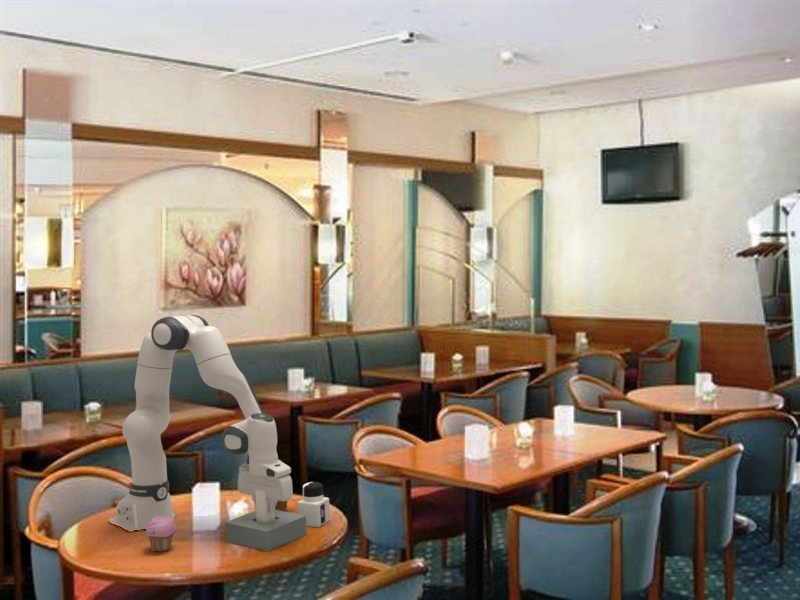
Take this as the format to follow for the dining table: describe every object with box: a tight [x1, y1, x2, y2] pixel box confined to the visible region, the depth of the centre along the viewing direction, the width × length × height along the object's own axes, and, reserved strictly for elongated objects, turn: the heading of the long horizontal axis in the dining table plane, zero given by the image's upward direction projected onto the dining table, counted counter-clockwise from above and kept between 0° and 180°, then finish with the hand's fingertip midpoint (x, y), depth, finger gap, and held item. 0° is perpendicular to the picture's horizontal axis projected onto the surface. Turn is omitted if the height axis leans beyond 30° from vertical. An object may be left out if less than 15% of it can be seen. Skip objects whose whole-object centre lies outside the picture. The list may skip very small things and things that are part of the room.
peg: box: [255, 490, 275, 523], centre depth 280 cm, size 4×4×14 cm
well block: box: [224, 510, 307, 552], centre depth 280 cm, size 18×18×6 cm
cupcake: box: [145, 516, 177, 552], centre depth 272 cm, size 9×9×10 cm
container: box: [296, 481, 331, 528], centre depth 293 cm, size 8×8×13 cm
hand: (265, 510), depth 279 cm, fingers closed on peg, 4 cm apart
